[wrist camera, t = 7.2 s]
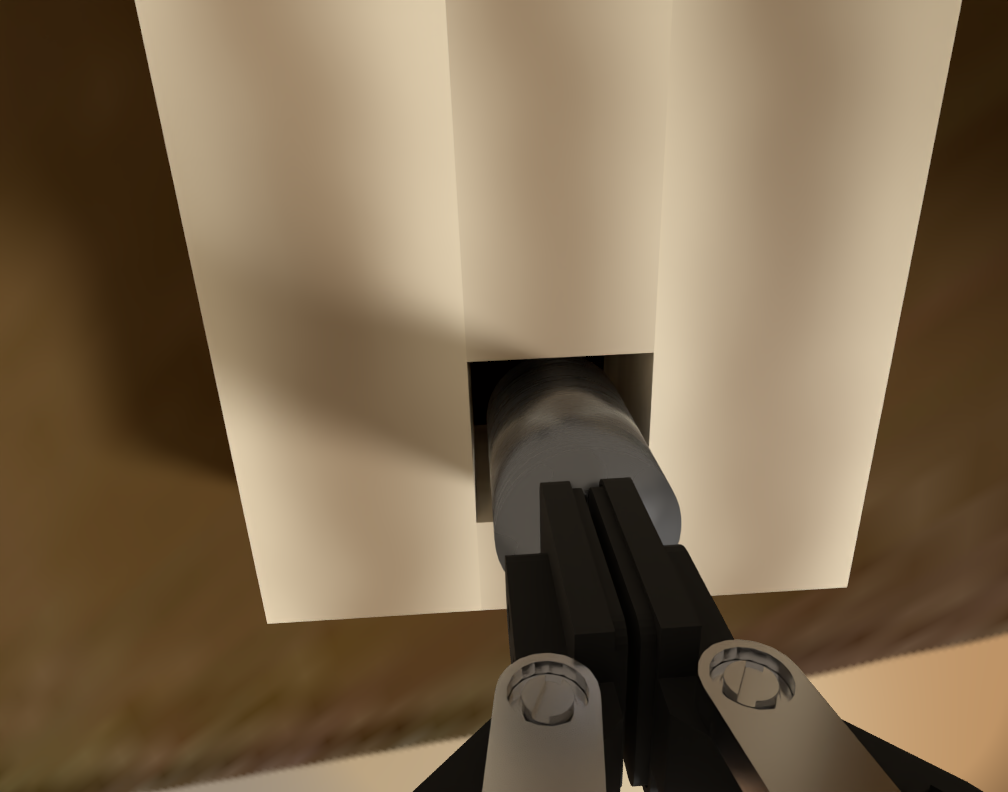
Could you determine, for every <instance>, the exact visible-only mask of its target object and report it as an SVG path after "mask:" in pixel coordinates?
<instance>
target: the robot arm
mask: <svg viewBox="0 0 1008 792" xmlns="http://www.w3.org/2000/svg"><path fill="white" fill-rule="evenodd" d="M539 499H540V553H536V554H520V555H505V584H506V605H507V621H508V634H509V645H510V656H511V665H509V666H508V667H507V668H506V670H505V671H504V672H503V673H502V674H501V676H500V677H499V680H498V683H497V686H496V689H495V696H494V704H493V712H492V718H491V719H490V720H489V721H488V722H487V723H485V724H484V725H483V726H482V727H481V728H480V729H479V730H478V731H477V732H476V733H475V734H474V735H473V736H472V737H471V738H469V739H468V740H467V741H466V742H465V743H464V744H463V745H462V746H461V747H460V748H459V749H458V750H457V751H456V752H455V753H454V754H452V755H451V756H450V757H449V758H448V759H447V760H446V761H445V762H444V763H443V764H442V765H441V766H440V767H439V768H437V769H436V771H434V772H433V773H432V774H431V775H430V776H429V777H428V778H427V779H426V780H425V781H424V782H422V783H421V784H420V785H419V786H418V787H417V788H416V789H415V790H414V791H413V792H620V787H621V786H622V774H623V773H622V772H623V759H624V763H625V767H626V771H627V775H628V778H629V781H630V784H631V786H643V790H644V792H983V791H981V790H979V789H978V788H976V787H975V786H973V785H971V784H970V783H968V782H966V781H964V780H962V779H960V778H958V777H956V776H954V775H952V774H950V773H948V772H946V771H944V770H942V769H940V768H938V767H936V766H934V765H932V764H930V763H928V762H926V761H924V760H922V759H920V758H918V757H916V756H914V755H912V754H910V753H908V752H906V751H904V750H902V749H900V748H898V747H896V746H894V745H892V744H890V743H888V742H886V741H884V740H882V739H880V738H878V737H876V736H874V735H872V734H870V733H868V732H866V731H864V730H862V729H860V728H858V727H856V726H854V725H852V724H850V723H848V722H846V721H844V720H842V719H841V718H840V717H839V716H838V715H837V713H836V712H835V711H834V710H833V709H832V707H831V706H830V705H829V704H828V703H827V701H826V700H825V699H824V698H823V697H822V695H821V694H820V693H819V692H818V690H817V689H816V688H815V687H814V686H813V684H812V683H811V682H810V681H809V680H808V678H807V677H806V676H805V675H804V673H803V672H802V671H801V670H800V669H799V667H798V666H797V665H795V664H794V663H793V662H792V661H791V660H790V659H789V658H788V657H787V656H785V655H784V654H782V653H780V652H779V651H777V650H775V649H774V648H772V647H769V646H766V645H764V644H761V643H758V642H754V641H747V640H741V639H740V640H734V638H733V636H732V634H731V633H730V631H729V629H728V627H727V625H726V623H725V621H724V619H723V617H722V615H721V614H720V612H719V610H718V608H717V606H716V604H715V602H714V600H713V598H712V596H711V595H710V593H709V591H708V589H707V587H706V585H705V583H704V581H703V579H702V577H701V576H700V574H699V572H698V570H697V568H696V566H695V564H694V562H693V560H692V559H691V557H690V555H689V553H688V551H687V549H686V548H685V547H684V546H683V545H681V544H675V545H663V543H662V541H661V539H660V537H659V535H658V533H657V531H656V529H655V527H654V524H653V522H652V520H651V518H650V516H649V514H648V512H647V510H646V508H645V506H644V504H643V501H642V499H641V497H640V495H639V493H638V491H637V489H636V487H635V485H634V483H633V480H632V479H631V477H624V478H607V479H600V481H599V487H590V488H589V508H588V505H587V502H586V499H585V496H584V493H583V490H582V488H572V486H571V483H570V481H558V482H541V483H540V487H539Z"/></svg>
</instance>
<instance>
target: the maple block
mask: <svg viewBox="0 0 1008 792" xmlns="http://www.w3.org/2000/svg"><path fill="white" fill-rule="evenodd" d="M961 3H962V0H135V4H136V9H137V14H138V18H139V23H140V28H141V32H142V37H143V42H144V46H145V51H146V56H147V60H148V65H149V70H150V75H151V79H152V84H153V89H154V93H155V98H156V103H157V107H158V112H159V117H160V121H161V126H162V131H163V136H164V140H165V145H166V150H167V154H168V159H169V164H170V168H171V173H172V178H173V182H174V187H175V192H176V197H177V201H178V206H179V211H180V215H181V220H182V225H183V229H184V234H185V239H186V243H187V248H188V253H189V258H190V262H191V267H192V272H193V276H194V281H195V286H196V290H197V295H198V300H199V305H200V309H201V314H202V319H203V323H204V328H205V333H206V337H207V342H208V347H209V351H210V356H211V361H212V366H213V370H214V375H215V380H216V384H217V389H218V394H219V398H220V403H221V408H222V412H223V417H224V422H225V427H226V431H227V436H228V441H229V445H230V450H231V455H232V459H233V464H234V469H235V473H236V478H237V483H238V488H239V492H240V497H241V502H242V506H243V511H244V516H245V520H246V525H247V530H248V534H249V539H250V544H251V549H252V553H253V558H254V563H255V567H256V572H257V577H258V581H259V586H260V591H261V596H262V600H263V605H264V610H265V614H266V619H267V624H270V623H285V622H301V621H317V620H333V619H349V618H365V617H381V616H396V615H412V614H428V613H444V612H460V611H476V610H492V609H507V605H506V584H505V572H504V570H503V568H502V566H501V564H500V562H499V560H498V556H497V553H496V548H495V540H494V526H493V511H492V496H491V481H490V466H489V451H488V436H487V425H474V417H473V399H472V382H471V364H470V362H476V361H496V360H516V359H536V358H556V357H576V356H595V355H604V368H603V371H604V372H605V373H606V374H607V375H608V377H609V378H610V379H611V381H612V382H613V384H614V386H615V388H616V389H617V391H618V393H619V395H620V397H621V398H622V400H623V402H624V404H625V406H626V407H627V409H628V411H629V413H630V414H631V416H632V418H633V420H634V422H635V423H636V425H637V427H638V429H639V431H640V432H641V434H642V436H643V438H644V440H645V441H646V443H647V445H648V447H649V448H650V450H651V452H652V454H653V456H654V457H655V459H656V461H657V463H658V465H659V466H660V468H661V470H662V472H663V474H664V475H665V477H666V479H667V481H668V482H669V484H670V486H671V488H672V490H673V492H674V494H675V496H676V498H677V501H678V504H679V507H680V512H681V535H680V540H679V543H678V544H681V545H683V546H684V547H685V548H686V549H687V551H688V553H689V555H690V557H691V559H692V560H693V562H694V564H695V566H696V568H697V570H698V572H699V574H700V576H701V577H702V579H703V581H704V583H705V585H706V587H707V589H708V591H709V593H710V595H711V596H714V595H729V594H745V593H761V592H777V591H793V590H809V589H825V588H840V587H847V585H848V579H849V574H850V569H851V564H852V559H853V554H854V549H855V544H856V539H857V533H858V528H859V523H860V518H861V513H862V508H863V503H864V498H865V493H866V488H867V482H868V477H869V472H870V467H871V462H872V457H873V452H874V447H875V442H876V437H877V431H878V426H879V421H880V416H881V411H882V406H883V401H884V396H885V391H886V386H887V380H888V375H889V370H890V365H891V360H892V355H893V350H894V345H895V340H896V334H897V329H898V324H899V319H900V314H901V309H902V304H903V299H904V294H905V289H906V283H907V278H908V273H909V268H910V263H911V258H912V253H913V248H914V243H915V238H916V232H917V227H918V222H919V217H920V212H921V207H922V202H923V197H924V192H925V187H926V181H927V176H928V171H929V166H930V161H931V156H932V151H933V146H934V141H935V136H936V130H937V125H938V120H939V115H940V110H941V105H942V100H943V95H944V90H945V84H946V79H947V74H948V69H949V64H950V59H951V54H952V49H953V44H954V39H955V33H956V28H957V23H958V18H959V13H960V8H961Z"/></svg>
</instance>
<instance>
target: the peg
mask: <svg viewBox="0 0 1008 792" xmlns="http://www.w3.org/2000/svg"><path fill="white" fill-rule="evenodd" d="M486 421H487V436H488V451H489V466H490V481H491V496H492V511H493V526H494V540H495V548H496V553H497V556H498V560H499V562H500V564H501V566H502V568H503V570H504V572H505V555H520V554H536V553H540V499H539V487H540V483H541V482H558V481H570V483H571V486H572V488H582V490H583V493H584V496H585V499H586V502H587V505H588V508H589V488H590V487H599V481H600V479H607V478H624V477H631V479H632V480H633V483H634V485H635V487H636V489H637V491H638V493H639V495H640V497H641V499H642V501H643V504H644V506H645V508H646V510H647V512H648V514H649V516H650V518H651V520H652V522H653V524H654V527H655V529H656V531H657V533H658V535H659V537H660V539H661V541H662V543H663V545H675V544H678V543H679V540H680V535H681V512H680V507H679V504H678V501H677V498H676V496H675V494H674V492H673V490H672V488H671V486H670V484H669V482H668V481H667V479H666V477H665V475H664V474H663V472H662V470H661V468H660V466H659V465H658V463H657V461H656V459H655V457H654V456H653V454H652V452H651V450H650V448H649V447H648V445H647V443H646V441H645V440H644V438H643V436H642V434H641V432H640V431H639V429H638V427H637V425H636V423H635V422H634V420H633V418H632V416H631V414H630V413H629V411H628V409H627V407H626V406H625V404H624V402H623V400H622V398H621V397H620V395H619V393H618V391H617V389H616V388H615V386H614V384H613V382H612V381H611V379H610V378H609V377H608V375H607V374H606V373H605V372H604V371H603V370H602V369H601V368H599V367H598V366H597V365H596V364H594V363H592V362H590V361H589V360H587V359H584V358H582V357H579V356H576V357H556V358H536V359H526V360H524V361H523V362H521V363H519V364H517V365H516V366H514V367H513V368H512V369H510V370H509V371H508V372H507V373H506V374H505V375H504V376H503V377H502V378H501V379H500V381H499V382H498V383H497V385H496V387H495V388H494V390H493V392H492V394H491V396H490V399H489V403H488V407H487V419H486Z"/></svg>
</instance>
